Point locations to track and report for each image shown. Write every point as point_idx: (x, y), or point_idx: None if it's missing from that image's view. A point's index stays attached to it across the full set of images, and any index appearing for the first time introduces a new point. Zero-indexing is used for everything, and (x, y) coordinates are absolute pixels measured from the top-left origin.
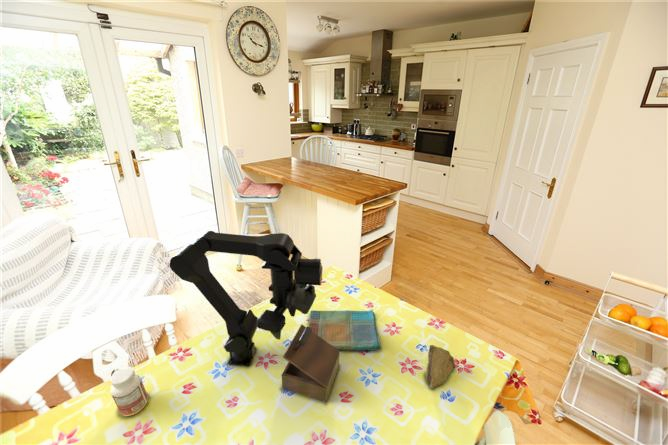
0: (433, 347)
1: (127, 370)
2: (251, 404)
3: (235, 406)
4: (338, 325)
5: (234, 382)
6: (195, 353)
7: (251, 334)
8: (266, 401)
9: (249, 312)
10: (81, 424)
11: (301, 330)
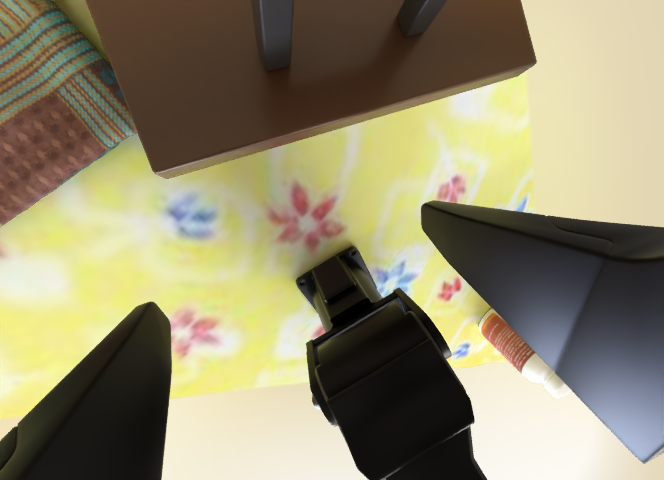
0: None
1: (563, 389)
2: (445, 141)
3: (460, 175)
4: None
5: (408, 232)
6: None
7: (404, 335)
8: (426, 106)
9: (385, 464)
10: None
11: (217, 120)
